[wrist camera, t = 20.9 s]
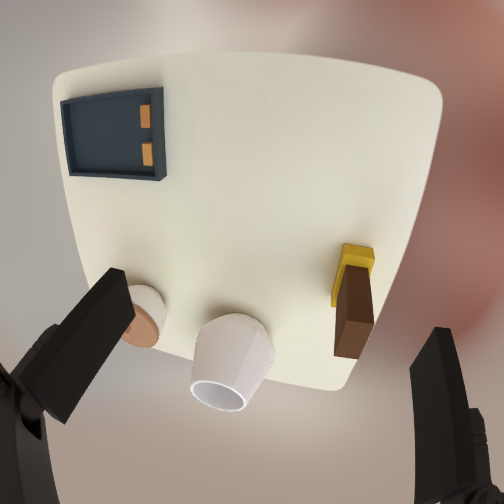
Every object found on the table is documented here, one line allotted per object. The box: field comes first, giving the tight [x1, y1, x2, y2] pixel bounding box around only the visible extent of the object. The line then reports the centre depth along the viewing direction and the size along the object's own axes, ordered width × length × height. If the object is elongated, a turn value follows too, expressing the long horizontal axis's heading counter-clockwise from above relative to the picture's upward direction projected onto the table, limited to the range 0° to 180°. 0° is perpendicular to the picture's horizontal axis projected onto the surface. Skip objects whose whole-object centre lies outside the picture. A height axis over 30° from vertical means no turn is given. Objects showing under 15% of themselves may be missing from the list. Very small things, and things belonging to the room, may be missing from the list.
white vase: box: [190, 313, 275, 411], centre depth 47 cm, size 13×13×14 cm
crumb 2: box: [142, 141, 154, 166], centre depth 37 cm, size 1×3×1 cm, turn 177°
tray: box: [60, 87, 167, 181], centre depth 37 cm, size 17×12×2 cm
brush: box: [331, 244, 375, 359], centre depth 36 cm, size 9×4×12 cm, turn 178°
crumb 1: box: [140, 104, 152, 128], centre depth 34 cm, size 1×3×1 cm, turn 177°
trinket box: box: [121, 285, 166, 348], centre depth 50 cm, size 11×11×9 cm
